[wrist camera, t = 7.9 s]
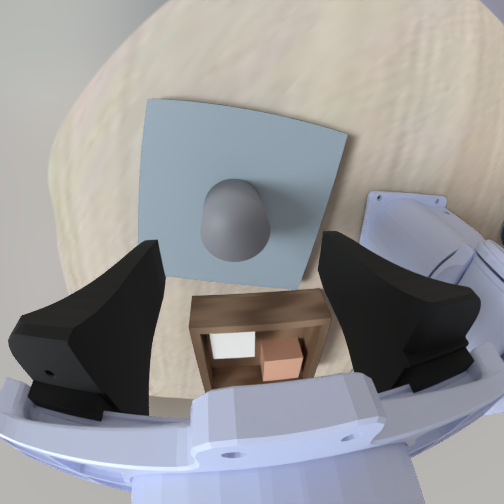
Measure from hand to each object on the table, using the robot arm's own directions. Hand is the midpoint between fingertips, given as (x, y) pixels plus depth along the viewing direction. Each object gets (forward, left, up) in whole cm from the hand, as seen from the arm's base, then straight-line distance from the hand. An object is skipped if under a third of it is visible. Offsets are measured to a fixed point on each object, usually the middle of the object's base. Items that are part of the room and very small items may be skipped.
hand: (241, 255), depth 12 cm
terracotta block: (-4, +19, -9) cm, 21 cm away
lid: (0, +1, -9) cm, 9 cm away
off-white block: (+1, +14, -9) cm, 16 cm away
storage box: (-2, +16, -9) cm, 19 cm away
